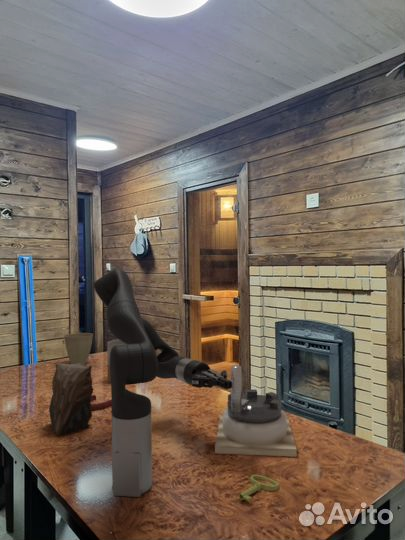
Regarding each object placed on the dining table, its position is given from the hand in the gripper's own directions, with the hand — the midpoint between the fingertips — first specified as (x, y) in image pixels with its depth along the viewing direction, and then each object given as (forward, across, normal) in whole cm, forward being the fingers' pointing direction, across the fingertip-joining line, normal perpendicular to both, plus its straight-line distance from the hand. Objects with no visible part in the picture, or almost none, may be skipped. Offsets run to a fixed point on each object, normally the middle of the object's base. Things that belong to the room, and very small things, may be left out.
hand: (229, 385), depth 108 cm
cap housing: (-4, +13, +17) cm, 22 cm away
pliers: (-61, -19, +20) cm, 67 cm away
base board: (-4, +13, +19) cm, 23 cm away
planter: (-85, +8, +19) cm, 87 cm away
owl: (-46, -30, +19) cm, 58 cm away
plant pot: (-128, +3, +19) cm, 129 cm away
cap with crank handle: (-4, +11, +12) cm, 16 cm away
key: (+17, -6, +20) cm, 27 cm away
